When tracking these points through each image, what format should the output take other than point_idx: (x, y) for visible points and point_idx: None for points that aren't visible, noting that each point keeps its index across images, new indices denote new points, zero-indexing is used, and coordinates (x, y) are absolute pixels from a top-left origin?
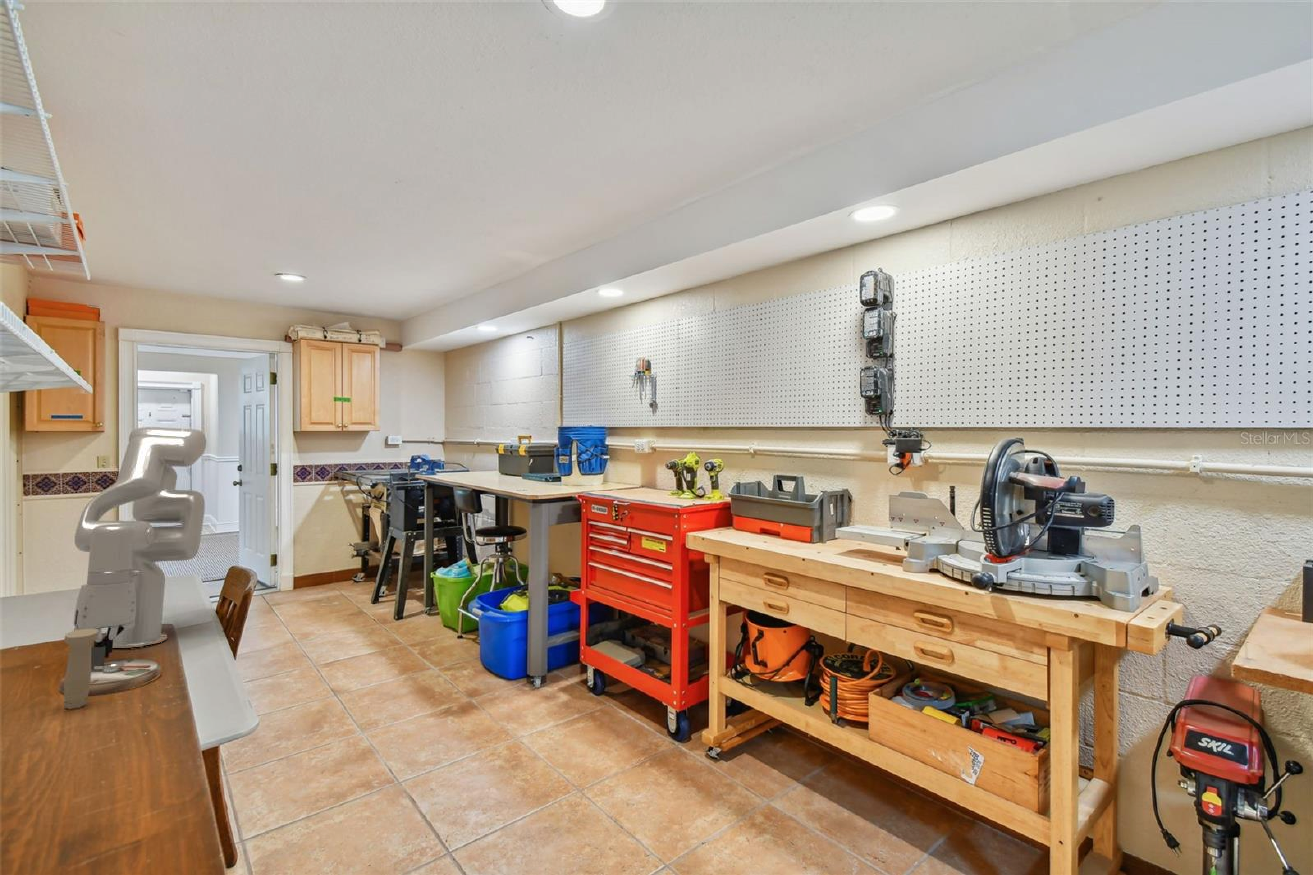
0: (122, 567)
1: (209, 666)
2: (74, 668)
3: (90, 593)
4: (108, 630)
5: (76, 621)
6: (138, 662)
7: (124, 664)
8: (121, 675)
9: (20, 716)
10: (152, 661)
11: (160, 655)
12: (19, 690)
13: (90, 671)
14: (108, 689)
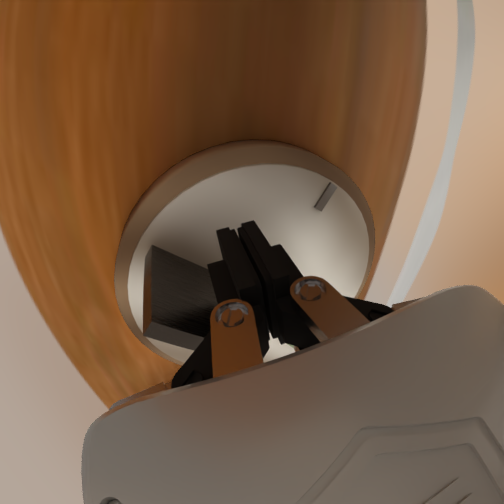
0: None
1: (426, 250)
2: None
3: None
4: (319, 333)
5: (93, 461)
6: (338, 232)
7: (300, 232)
8: (272, 339)
9: (106, 391)
10: (367, 241)
11: (402, 48)
12: (16, 227)
13: None
14: None
